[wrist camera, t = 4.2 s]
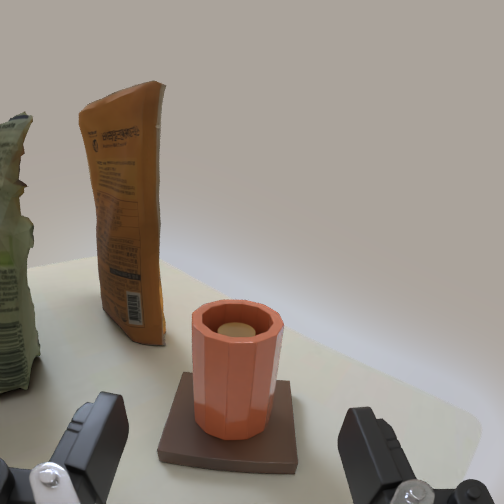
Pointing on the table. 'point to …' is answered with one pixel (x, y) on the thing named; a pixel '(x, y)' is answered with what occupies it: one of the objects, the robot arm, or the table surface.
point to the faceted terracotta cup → (234, 368)
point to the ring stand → (230, 451)
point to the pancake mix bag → (128, 205)
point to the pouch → (15, 263)
